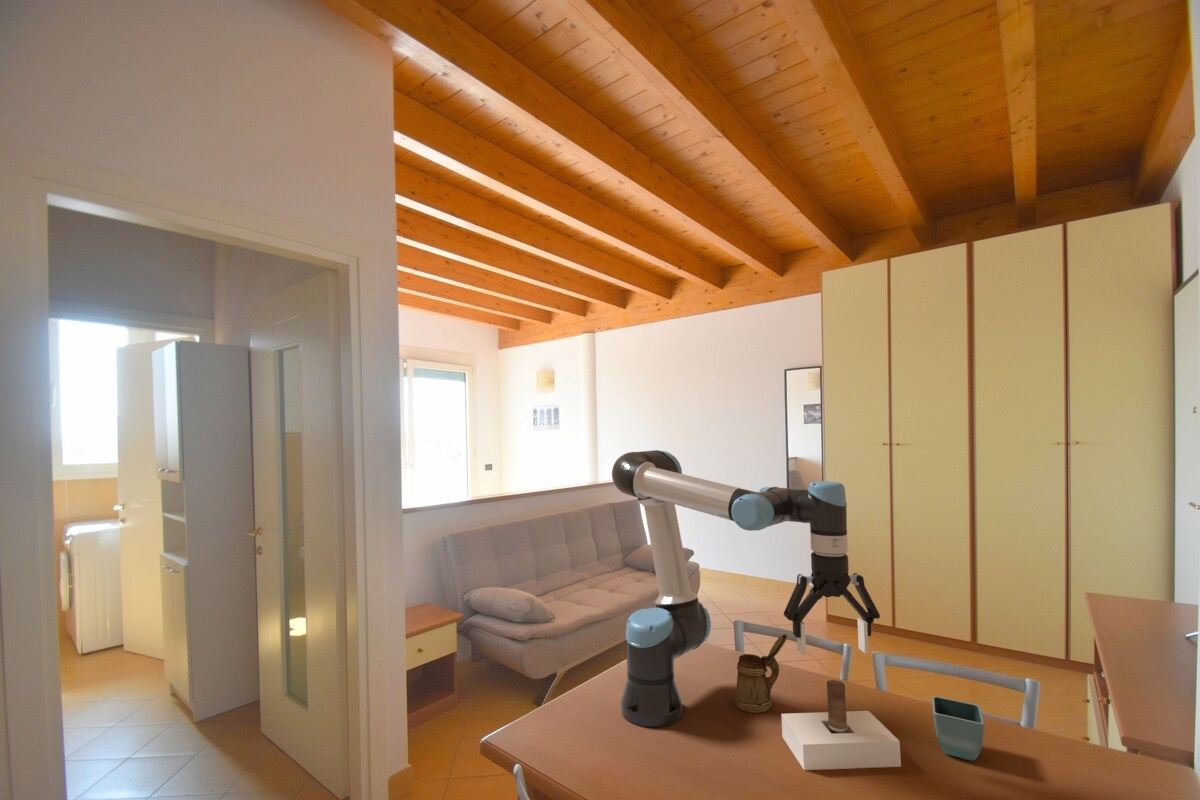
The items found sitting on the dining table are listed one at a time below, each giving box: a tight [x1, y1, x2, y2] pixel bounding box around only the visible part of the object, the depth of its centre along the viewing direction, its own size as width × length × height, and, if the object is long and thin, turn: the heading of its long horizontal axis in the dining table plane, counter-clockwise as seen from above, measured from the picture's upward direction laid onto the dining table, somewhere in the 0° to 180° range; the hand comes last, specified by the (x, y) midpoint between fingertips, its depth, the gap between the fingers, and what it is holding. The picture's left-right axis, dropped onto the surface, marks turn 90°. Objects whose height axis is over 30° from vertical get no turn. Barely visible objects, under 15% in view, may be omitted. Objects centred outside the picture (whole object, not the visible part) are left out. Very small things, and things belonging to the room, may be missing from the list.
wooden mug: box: [733, 634, 788, 714], centre depth 134 cm, size 9×14×18 cm, turn 72°
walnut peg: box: [826, 679, 847, 734], centre depth 114 cm, size 4×4×14 cm
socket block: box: [780, 710, 902, 771], centre depth 114 cm, size 12×20×5 cm, turn 92°
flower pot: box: [931, 695, 985, 762], centre depth 113 cm, size 9×9×9 cm
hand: (832, 651), depth 116 cm, fingers open, 13 cm apart
